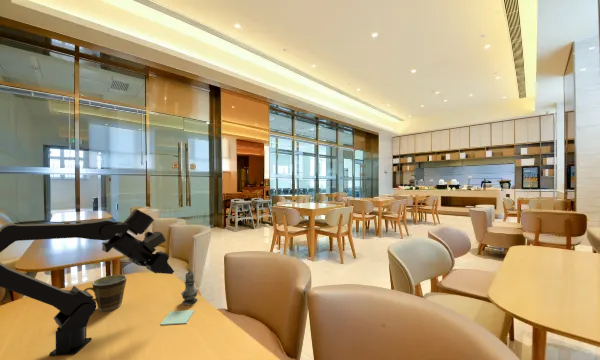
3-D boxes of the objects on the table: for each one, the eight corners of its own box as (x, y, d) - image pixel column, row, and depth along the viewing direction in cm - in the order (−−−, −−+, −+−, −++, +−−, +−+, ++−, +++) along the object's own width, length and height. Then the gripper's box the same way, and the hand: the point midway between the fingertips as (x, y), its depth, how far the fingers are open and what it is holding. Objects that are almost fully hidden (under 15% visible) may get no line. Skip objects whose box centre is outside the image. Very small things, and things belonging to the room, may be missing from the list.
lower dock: (186, 323, 82) (186, 322, 82) (160, 325, 81) (160, 324, 81) (194, 310, 90) (194, 310, 90) (170, 312, 89) (170, 311, 89)
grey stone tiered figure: (191, 306, 93) (191, 273, 93) (177, 304, 95) (177, 272, 95) (201, 298, 99) (201, 267, 99) (187, 297, 100) (187, 266, 100)
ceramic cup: (118, 298, 100) (118, 272, 100) (132, 304, 95) (131, 277, 95) (76, 313, 89) (76, 284, 89) (89, 321, 84) (89, 290, 84)
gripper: (161, 228, 81) (195, 254, 90) (137, 223, 92) (169, 246, 101) (134, 260, 75) (173, 284, 84) (112, 250, 86) (148, 272, 95)
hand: (166, 269), depth 91 cm, fingers open, 9 cm apart
